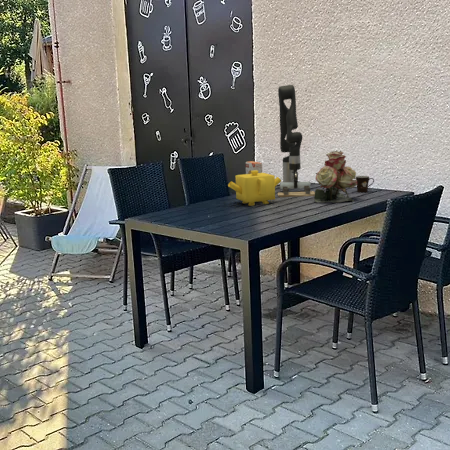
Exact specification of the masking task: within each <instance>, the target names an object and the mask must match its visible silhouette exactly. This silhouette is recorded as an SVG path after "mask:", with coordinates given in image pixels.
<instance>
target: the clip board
mask: <svg viewBox="0 0 450 450" xmlns="http://www.w3.org/2000/svg"><path fill="white" fill-rule="evenodd" d="M289 190H290V189H289V188H288V187H283V189H282V192H277V196H278V198H292V197H293V198H294V197H296V198H297V197H314V196H315V191H313V190H312V191H311V186H310V187H309V186H304V188H303V191H289Z"/></svg>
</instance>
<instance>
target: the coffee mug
mask: <svg viewBox="0 0 450 450" xmlns="http://www.w3.org/2000/svg"><path fill="white" fill-rule="evenodd" d="M355 176H356V177H355V178H356V179H355V180H357V182H358V183H357V186H356V191H357V192H356V193H360V192H361V193H362V194H363V192H365V193H368V189H369V187H371V186H372V185H373V184H374V182H375V179H374V178H373V177H370V176H367V175H355ZM371 179H372V182H371V183H370V184H369V181H370V180H371Z"/></svg>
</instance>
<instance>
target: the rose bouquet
mask: <svg viewBox="0 0 450 450" xmlns="http://www.w3.org/2000/svg"><path fill="white" fill-rule="evenodd" d="M325 155H326V157H327V159H328V160H327V159H326V160H324V166H323V167H321V168H320V169H319V170H318V171H317V172H316V173H315V181H316V182H317V183H318V185H320V188H316V189H315V191H314V192H315V196H313V197H314V202H315V203H333V204H335V203H336V204H337V203H342V202H348V201H350V202H352V203H353V202H355V200H354V199H352V197H349V196H350V195H349V193H348V191H347V188H349V189H354V188H355V187H357V183H358V182H357V180H356V176H357V172H356V170H354V169H353V168H352V167H350V166H346V163H347V160H346V157H347V155H344V151H341V150H339V151H338V150H333V151H330V152H328V153H327V154H325ZM341 191H342V192H343V193H345V194H346V195H344V194H343V193H341ZM344 196H345V197H344ZM337 197H338V198H337Z"/></svg>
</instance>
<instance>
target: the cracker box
mask: <svg viewBox="0 0 450 450" xmlns="http://www.w3.org/2000/svg"><path fill="white" fill-rule="evenodd" d="M253 170H257V171H258V173H263V162H258V161H254V160H252V161H251V160H249V161H246V162H245V174H252V173H251V171H253Z"/></svg>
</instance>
